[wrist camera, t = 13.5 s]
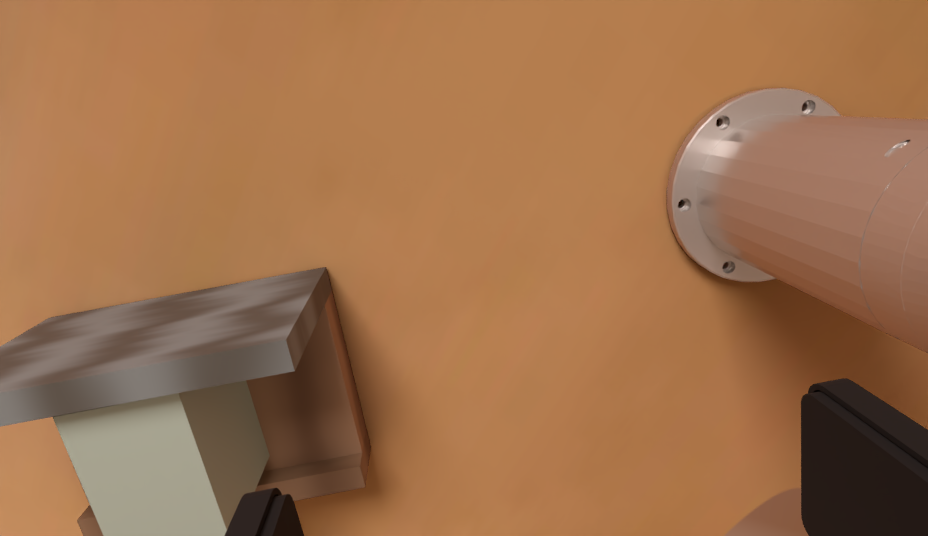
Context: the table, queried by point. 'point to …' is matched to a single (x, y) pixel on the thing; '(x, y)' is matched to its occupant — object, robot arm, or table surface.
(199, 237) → the table surface
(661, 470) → the table surface
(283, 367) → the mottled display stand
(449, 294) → the table surface
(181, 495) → the mini block
